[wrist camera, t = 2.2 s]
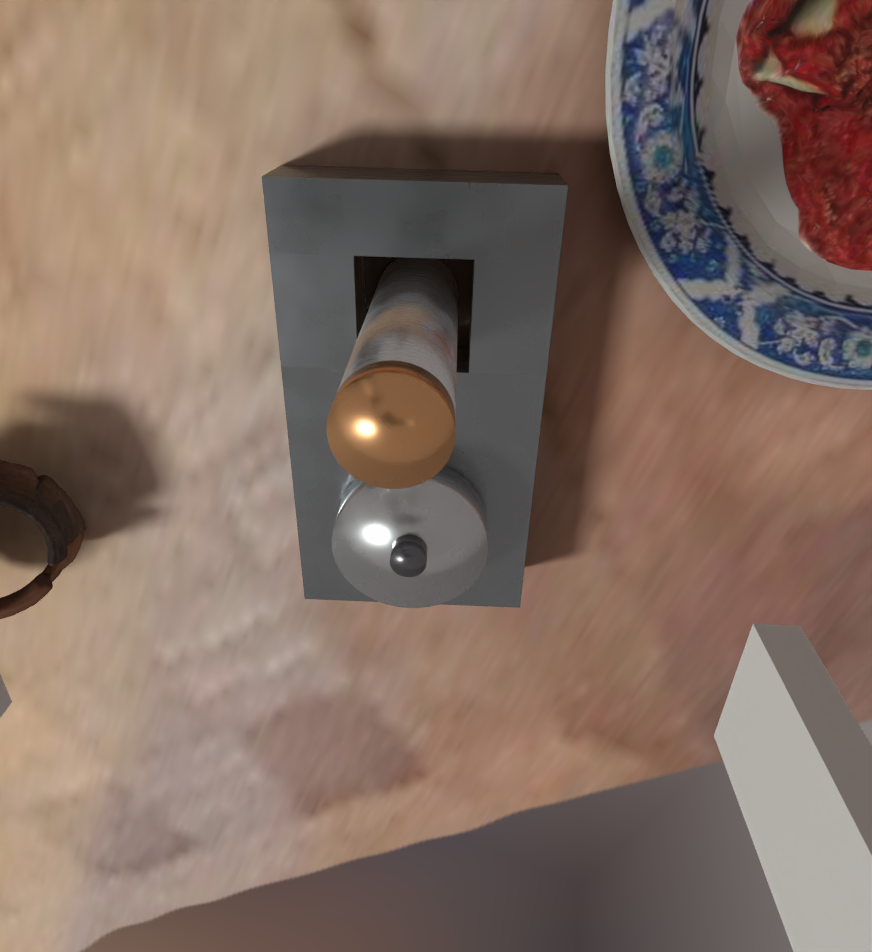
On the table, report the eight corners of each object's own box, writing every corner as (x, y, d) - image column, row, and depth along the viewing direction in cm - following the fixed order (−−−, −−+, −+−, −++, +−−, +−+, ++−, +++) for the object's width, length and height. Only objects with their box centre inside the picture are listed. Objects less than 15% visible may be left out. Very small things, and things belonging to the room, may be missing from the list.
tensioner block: (280, 165, 27) (238, 190, 22) (558, 173, 27) (580, 200, 22) (315, 562, 38) (292, 641, 32) (516, 570, 37) (524, 651, 32)
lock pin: (376, 251, 29) (322, 372, 18) (460, 254, 29) (457, 377, 18) (378, 332, 31) (330, 486, 20) (456, 334, 31) (452, 491, 19)
